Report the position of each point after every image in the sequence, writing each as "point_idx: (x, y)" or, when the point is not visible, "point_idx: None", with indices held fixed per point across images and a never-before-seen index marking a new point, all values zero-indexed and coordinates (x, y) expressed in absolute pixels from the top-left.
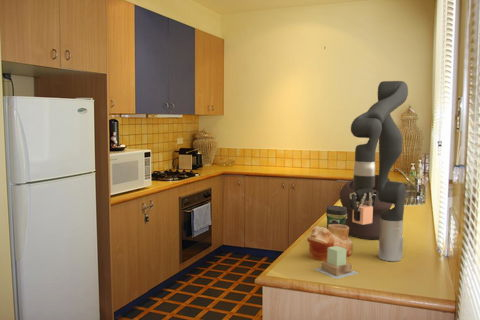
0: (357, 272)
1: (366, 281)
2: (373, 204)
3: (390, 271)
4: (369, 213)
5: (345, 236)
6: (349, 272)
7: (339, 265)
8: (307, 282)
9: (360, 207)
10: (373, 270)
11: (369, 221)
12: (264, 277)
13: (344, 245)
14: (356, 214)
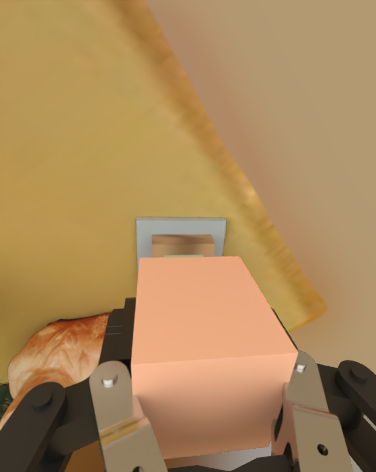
0: (137, 225)
1: (150, 177)
2: (57, 418)
3: (12, 193)
4: (184, 307)
5: (45, 380)
6: (159, 235)
7: (191, 255)
8: (280, 250)
9: (293, 383)
10: (60, 226)
11: (171, 265)
12: (322, 310)
13: (68, 348)
14: (288, 335)
